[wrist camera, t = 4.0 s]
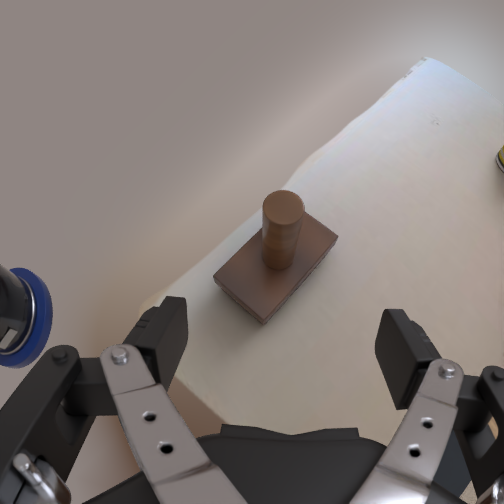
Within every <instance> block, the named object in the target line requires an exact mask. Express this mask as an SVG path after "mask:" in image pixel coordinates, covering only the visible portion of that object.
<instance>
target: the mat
mask: <svg viewBox="0 0 504 504" xmlns="http://www.w3.org/2000/svg"><path fill="white" fill-rule="evenodd" d="M433 480H434V481H435V482H436V483H438V484H439V485H441V486H442V487H444V488H445V489H446V490H448V491H449V492H451V493H452V494H454V495H455V496H457V497H458V498H459V497H460V495H461V494H462V493H463V491H464V490H465V488H466V487H467V485H468V484H469V483H470V481H471V477H470V474H469V471H468V468H467V465H466V462H465V459H464V456H463V454H462V451H461V448H460V445H459V443H458V440H457V438H456V435H455V432H454V430H452V431H451V434H450V436H449V439H448V442H447V445H446V448H445V450H444V453H443V456H442V458H441V461H440V463H439V466H438V468H437V471H436V473H435V475H434V478H433Z"/></svg>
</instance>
